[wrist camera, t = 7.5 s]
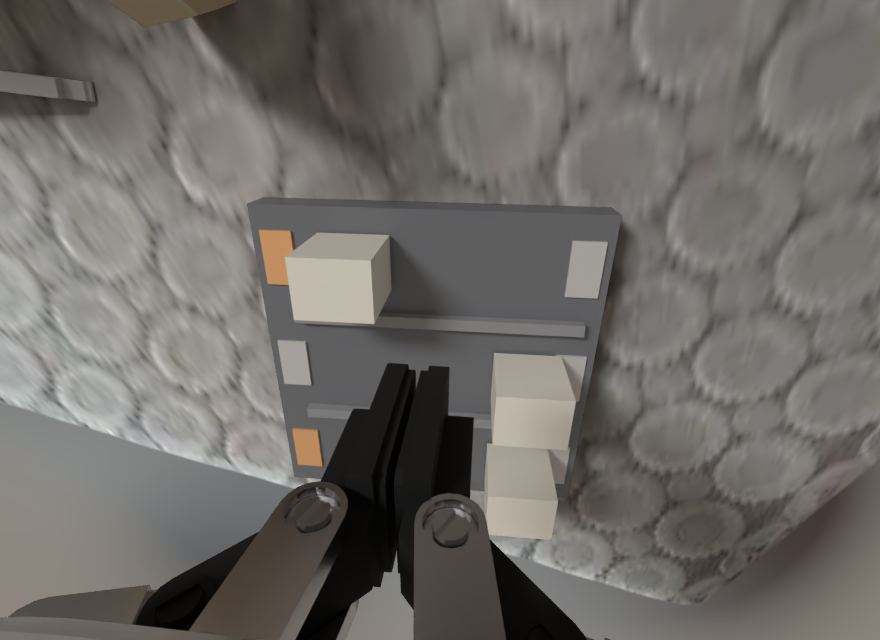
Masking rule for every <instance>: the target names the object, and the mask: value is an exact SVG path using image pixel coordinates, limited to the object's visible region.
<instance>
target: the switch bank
mask: <svg viewBox="0 0 880 640" xmlns="http://www.w3.org/2000/svg"><path fill="white" fill-rule="evenodd" d="M247 207H248V212H249V218H250V224H251V230H252V235H253V241H254V247H255V252H256V258H257V264H258V270H259V275H260V281H261V287H262V293H263V298H264V304H265V310H266V315H267V321H268V327H269V333H270V338H271V344H272V350H273V356H274V361H275V367H276V373H277V378H278V384H279V390H280V396H281V401H282V407H283V413H284V418H285V424H286V430H287V436H288V441H289V447H290V453H291V459H292V464H293V470H294V476H295V477H304V478H317V479H322V477H323V475H324V473H325V470H326V468H327V466H328V464H329V461H330V459H331V457H332V455H333V452H334V450H335V448H336V446H337V443H338V441H339V439H340V437H341V434H342V432H343V430H344V428H345V425H346V423H347V421H348V419H349V416H350V414H351V412H352V411H353V409H355V408H357V409H370V406H371V404H372V401H373V399H374V396H375V393H376V391H377V388H378V386H379V383H380V381H381V378H382V376H383V373H384V370H385V368H386V365H387V363H399V364H408V365H409V369H410V370H415V371H416V388H417V384H418V380H419V376H420V372H421V370H424V371H428V368H429V366H444V367H449V408H448V415H449V416H462V417H474V427H473V447H472V466H471V485H470V490H475V491H485V481H484V479H485V465H486V452H487V443H490V444H492V421H491V387H492V373H493V360H494V353H506V354H525V355H544V356H561V357H562V360H563V363H564V366H565V369H566V372H567V375H568V378H569V381H570V385H571V388H572V391H573V394H574V397H575V400H576V404H575V410H574V415H573V421H572V426H571V432H570V438H569V443H568V449H567V450H553V449H548V453H549V458H550V463H551V468H552V473H553V478H554V483H555V489H556V494H557V497H567V498H568V495H569V489H570V484H571V479H572V474H573V468H574V463H575V458H576V453H577V447H578V442H579V437H580V432H581V427H582V421H583V416H584V411H585V406H586V400H587V395H588V390H589V385H590V379H591V374H592V369H593V364H594V359H595V353H596V348H597V343H598V338H599V332H600V327H601V322H602V317H603V311H604V306H605V301H606V296H607V291H608V285H609V280H610V275H611V270H612V264H613V259H614V254H615V249H616V243H617V238H618V233H619V228H620V223H621V217H622V215H621V214H619V213H618V212H617V211H615V210H614V209H613V208H608V207H574V206H540V205H506V204H472V203H438V202H404V201H370V200H336V199H302V198H268V197H263V198H261V199H258V200H256V201H253V202H251V203H248V204H247ZM316 233H346V234H374V235H389V237H390V263H391V292H390V294H389V296H388V298H387V300H386V302H385V304H384V306H383V308H382V310H381V312H380V314H379V316H378V318H377V320H376V322H375V324H363V323H343V322H323V321H303V320H294V317H293V310H292V304H291V297H290V290H289V283H288V276H287V269H286V262H285V257H286V256H287V255H288V254H290V253H291V252H292V251H294V250H295V249H296V248H298V247H299V246H300V245H302V244H303V243H304V242H306V241H307V240H308V239H310V238H311V237H312V236H314V235H315V234H316Z"/></svg>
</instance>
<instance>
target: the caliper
mask: <svg viewBox="0 0 880 640" xmlns="http://www.w3.org/2000/svg"><path fill="white" fill-rule="evenodd" d="M0 92H8V93H17V94H25V95H33V96H42V97H50V98H58V99H72V100H81V101H91V102H96V99H95V94H94V89H93V84H92V82H88V81H80V80H72V79H66V78H58V77H51V76H44V75H36V74H28V73H20V72H12V71H4V70H0Z"/></svg>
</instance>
